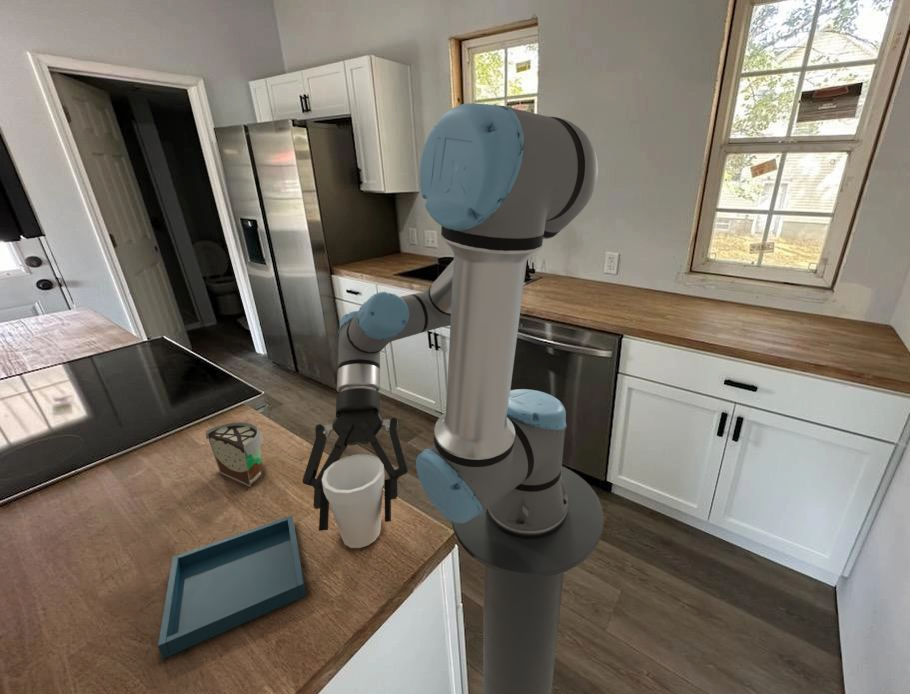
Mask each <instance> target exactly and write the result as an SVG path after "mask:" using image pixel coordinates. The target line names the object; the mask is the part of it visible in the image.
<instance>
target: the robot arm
mask: <svg viewBox="0 0 910 694" xmlns="http://www.w3.org/2000/svg"><path fill="white" fill-rule="evenodd" d="M598 165H599V163H598V157H597V154H596V149H595V148H594V146H593V143H592V141H591V140H590V138H589V137H588V135H587V134H586V133H585V132H584V131H583V130H582V129H581V128H580V127H579V126H578V125H576V124H575V123H573V122H572V121H569V120H567V119H564V118H561V117H557V116H548V115H543V114H540V113H539V114H538V113H536V112H535V113H534V112H531V111H526V110H522V109H518V108H513V107H511V106H506V105H499V104H497V103H494V104H489V103H487V104H486V103H476V102H475V103H473V102H472V103H471V102H469V103H463V104H458V105H456V106H454V107H452V108H451V109H449V110H447V111H445V113H444V114H443V115H441V117H440V118H439V120H438V121H437V124H435V125H434V126H432V128H431V130H430V131H429V134H428V136H427V138H426V141H425V143H424V146H423V149H422V153H421V157H420V164H419V189H420V194H421V197H422V199H425V203H424V207H425V209H426V211H427V212H428V215H429V217H431V219H433V220H434V222H435V223H436V224H438V225H440V226H441V230H440V232H441V233H440V236H441V239H442V240H443V241H444V243H445V244H446V245H447V246H448V248H450V249H451V251H452V252H453V260H452V261H451V262H450V263H449V264H448V265H447V266H446V268H445V269H444V270H443V271H442V272H441V274H439V276H438V277H437V278H436V279H435V280H434V281H433V282H432V284H431V285H429V286H428V288H427V289H426V290H423V291H421V292H416V293H412V294H408V295H401V296H400V295H398V294H395V293H391V292H388V291H380V292H376V293H374V294H373V295H371V296H370V297H369V298H368V299H367V300H366V301H365V302H363V304H362V305H361V306H360V307H359V309H358V310H353V311H349V313H345V314H343V315H342V317H341V318H340V321H339V329H338V331H337V337H338V351H337V376H336V377H337V378H336V392H338V393H337V394H336V398H335V401H336V403H335V418H334V419H333V422H332V423H328V424H321V423H319V424H316V426H315V428H314V429H315V439H314V443H313V445H312V448H311V452H310V455H309V459H308V462H307V465H306V468H305V471H304V473H303V474H304V475H303V478H302V484H303V485H306V486H309V487H312V488H313V508H314V509H315V510H319V519H318V521H319V522H318V532H321V531H322V532H323V531H328V530H329V519H330V518H329V516H330V515H329V514H330V504H329V501H328V500H327V498H326V496H325V494H324V491H323V485H322V477H323V474H324V471H325V470H326V469H327V468H328V467H329V466H330V465H331V464H332V463H334V462H336V461H338V460H340V459H341V457H342V455H343V453H344V452H345V451H346V449H347V448H348V446H349V447H350V446H356V445H358V444H360V445H368V444H370V445H371V447H372V448H373V451H374V452H375V455H376V457H377V458H379V459H380V460H381V462H382V463H383V465H384V471H385V473H386V474H387V476H388V478H387V479H384V522H385V523H386V522H392V500H397V498H398V492H399V491H398V479H400V477H402V476H404V475H407V474H408V472H409V470H408V466H407V462H406V459H405V455H404V452H403V448H402V444H401V440H400V438H399V434H398V432H399V431H398V430H399V421H398V419H397V418H396V417H391V418H389V419H388V418H385V419H383V418H382V416H381V393H380V392H379V391H380V390H381V351H382V350H384V349H385V348H386V346H388V345H389V343H391V342H394V341H398V340H402V339H405V338H407V337H412V336H415V335H419V334H422V333H426V332H429V331H433V330H436V329H440V328H444V327H449V344H448V345H449V346H448V364H447V365H448V366H447V383H446V384H447V385H446V402H445V403H446V405H445V412H444V413H443V414H442V415H440V416H439V418H438V419H437V421H436V422H435V425H434V429H433V430H434V431H433V445H432V446H431V447H429V448H425V449H424V450H422V452H420V453H419V454H418V455H417V457H416V461H415V468H416V474H417V477H418V481H419V483H420V485H421V487H422V490H423V491H424V493H425V495H426V496H427V498H428V500H429V501H430V502H431V503H432V505H433V507H434V508H435V509H436V510H437V511H438V512H439V513H440V514H441V515H442V516H443V517H444V518H446V519H447V520H449V521H451V522H452V521H453V522H455V523H466V522H468V521H469V520H471V519H472V518H474V517H475V516H477V515H481V514H482V513H483V512H484V511H485V510H486V509H487V513H488V516H489V518H490V519H491V521H492V522H493V524H494V525H495V526H496V527H498V528H499V529H500V530H502V531H503V532H505V533H507V534H509V535H512V536H515V537H519V538H526V539H533V538H541V537H544V536H547V535H550V534H552V533H554V532H555V531H557V530H558V529H559V528H560V527H561V526H562V525H563V523H564V522H565V520H566V517H567V513H568V498H567V494H566V490H565V487H564V484H563V480H562V477H561V468H562V466H563V456H564V445H565V437H566V436H565V435H566V429H567V422H566V421H567V420H566V419H567V418H566V417H567V411H566V408H565V406H564V404H563V403H562V402H561V400H559V399H558V398H556V397H555V396H553V395H552V394H549V393H547V392H544V391H540V390H535V389H529V388H528V389H527V388H521V389H520V388H519V389H511V387H512V379H513V373H514V372H513V371H514V366H515V365H514V364H515V356H516V350H517V349H516V347H517V342H518V333H519V325H520V317H521V310H522V301H523V294H524V286H525V279H526V278H525V277H526V270H527V262H528V260H529V259H530V258H531V257H532V256H534V254H536V253H538V252H539V251H540V250H541V249H542V247H543V242H544V240H550V239H553V238H554V237H555V236H556V235H558V234H559V233H560V232H561V231H562V230H563V229H565V228H566V227H567V226H568V225H569V224H570V223H571V222H572V221H573V220H574V219H575V218H576V217H577V216H578V215H580V213H581V212H582V211H583V210H584V209H585V207H586V206H587V205H588V203H589V201H590V200H591V199H592V197H593V195H594V192H595V189H596V186H597V182H598V175H599V166H598ZM382 427H384V428H385V431H386V432H388V433H389V437H390V440H391V443H392V448H393V451H394V454H395V459H396V462H397V465H398V468H396V469H395V468H394V467H393V465H392V463H391V461H390V459H389V457H388V456H387V454H386V452H385V450H384V449H383V446H382V445H381V444H380V441H379V440H378V438H377V437H376V436H377V434H378V433H379V431H380V430H381V429H382ZM333 431H334V432H335V434H336V435H337V436H338V437H337V439H336V440H335V443H334V445H333V448H332V449H331V452H330V453H329V455H328V457H327V459H326V460H325V462H324V464H323V466H322V468H321V470H320V471H319V472H318V470H319V468H320V464H321V461H322V457H323V454H324V451H325V447H326V444H327V438H329V437H330V436H331V433H332V432H333ZM317 474H318V475H317Z"/></svg>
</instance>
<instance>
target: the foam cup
mask: <svg viewBox="0 0 910 694" xmlns="http://www.w3.org/2000/svg"><path fill="white" fill-rule="evenodd" d="M385 473H386V472H385V468H384V465H383V463H382V462H381V460H380V459H379V458H378V456H374V455H372V454H363V453H357V454H352V455H347V456H344V457H342V458H340V459H339V460H338V461H336V462H334V463H332V464H331V465H330V466H329V467H328V468H327V469H326V470H325V471H324V474H323V477H322V485H323V491H324V494H325V496H326V498H327V500H328V501H329V508H330V510H331V512H332V515H333V517H334V520H335V524H336V526H337V528H338V532H339V534H340V537H341V539H342V542H343V544H344V545H345V546H347V547H348V548H350V549H361V548H364V547H367V546H369V545H371V544H372V543H373V542H375V541H376V540H377V539H378V537H379V536H380V535H381V529H382V527H381V526H382V513H383V493H384V486H385V480H386V479H385V478H386V475H385Z"/></svg>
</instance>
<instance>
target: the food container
mask: <svg viewBox="0 0 910 694" xmlns="http://www.w3.org/2000/svg"><path fill="white" fill-rule="evenodd" d="M205 438H206V440H208V442H209V445H210V448H211V451H212V455H213V456H214V459H215V462H216V465H217V468H218V470H219V471H218V472H219V474H221V475H223V476H225V477H228V478H230V479H231V480H234V481H236V482H238V483H241V484H244V485H245V486H247V487H250V488H252V487H253V486H254V485H256V484H257V483H258V482H259V481H260V480H261V479H262V476H263V475H264V469H263V462H262V461H263V460H262V453H261V452H262V451H261V445H262V443H263V440H264V437H263V435H262V433H261V430H260V429H259V428H258V427H257V426H256V425H255V424H253V423H251V422H244V421H235V422H229V423H223V424H220V425H216V426H214V427H211V428H209V429H206V430H205Z"/></svg>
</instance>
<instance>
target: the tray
mask: <svg viewBox="0 0 910 694" xmlns="http://www.w3.org/2000/svg"><path fill="white" fill-rule="evenodd" d="M297 537H298V536H297V532H296V527H295V521H294V516H293V514H291V515H289V516H285V517H282V518H279V519H276V520H274V521H271V522H268V523H266V524H262V525H260V526H257V527H254V528H251V529H248V530H246V531H245V530H244V531H243V532H240V533H237V534H233V535H231V536H228V537H226V538H223V539H220V540H217V541H214V542H211V543H208V544H205V545H201V546H199V547H197V548H194V549H191V550H188V551H185V552H182V553H179V554H177V555H174V556H172V557H171V562H170V568H169V575H168V579H167V580H168V581H167V587H166V591H165V592H166V593H165V598H164V605H163V611H162V617H161V623H160V629H159V635H158V640H157V641H158V642H157V648H158V651H159V653H160V655H161V659H162V660H164V659H167V658H168V657H172V656H174V655H176V654H178V653H180V652H182V651H185V650H187V649H189V648H192V647H193V646H195V645H198V644H201V643H203V642H205V641H207V640H209V639H211V638H214V637H216V636H218V635H221V634H224V633H226V632H227V631H229V630H232V629H234V628H236V627H238V626H242V625H243V624H245V623H248V622H250V621H253V620H254V619H256V618H259V617H261V616H264V615H266V614H268V613H270V612H273V611H275V610H277V609H280V608H282V607H285V606H286V605H289V604H290V603H293V602H295V601H298V600H300V599H302V598H304V597H306V596H307V593H306V587H305V581H304V575H303V568H302V563H301V556H300V550H299V543H298V538H297Z"/></svg>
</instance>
